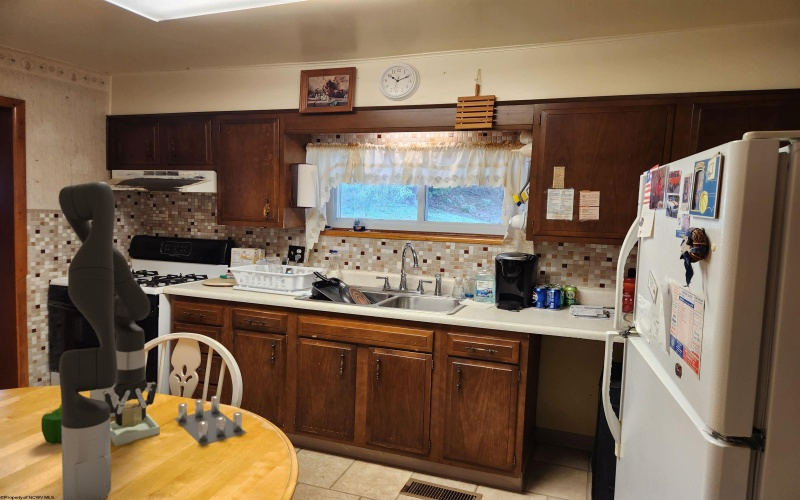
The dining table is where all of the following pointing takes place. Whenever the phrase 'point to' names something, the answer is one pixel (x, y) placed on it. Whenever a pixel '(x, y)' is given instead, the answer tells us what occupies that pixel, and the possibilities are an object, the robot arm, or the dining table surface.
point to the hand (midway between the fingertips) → (130, 422)
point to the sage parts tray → (133, 431)
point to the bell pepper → (52, 426)
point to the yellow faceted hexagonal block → (131, 415)
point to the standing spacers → (204, 424)
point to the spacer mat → (193, 427)
